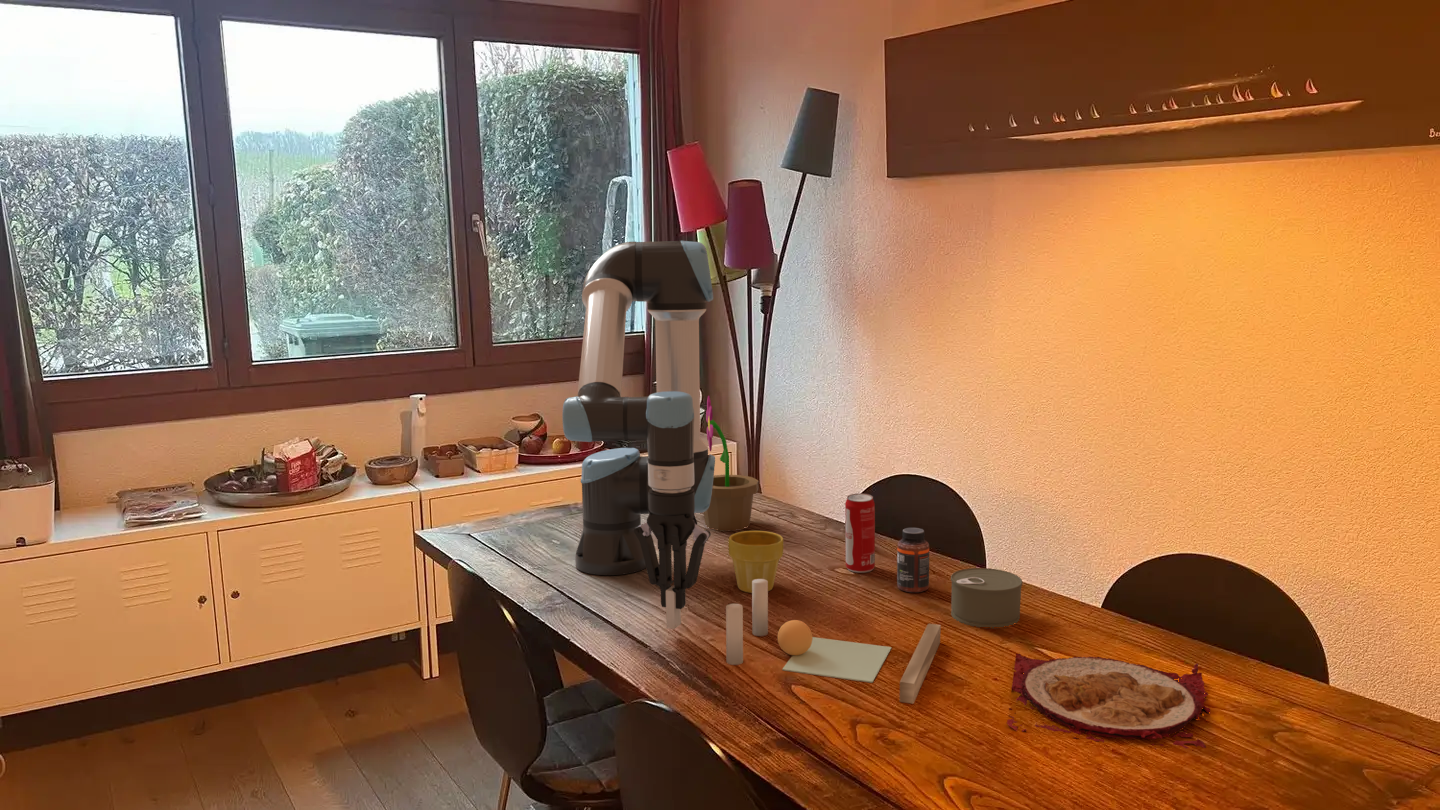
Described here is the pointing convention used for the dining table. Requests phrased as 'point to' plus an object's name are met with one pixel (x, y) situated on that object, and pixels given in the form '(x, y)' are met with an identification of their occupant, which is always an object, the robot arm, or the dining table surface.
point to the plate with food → (1110, 697)
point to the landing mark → (840, 660)
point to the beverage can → (860, 533)
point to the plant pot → (755, 557)
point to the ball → (795, 637)
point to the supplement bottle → (913, 561)
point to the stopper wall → (919, 664)
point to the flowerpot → (728, 490)
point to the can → (986, 597)
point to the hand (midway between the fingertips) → (673, 625)
